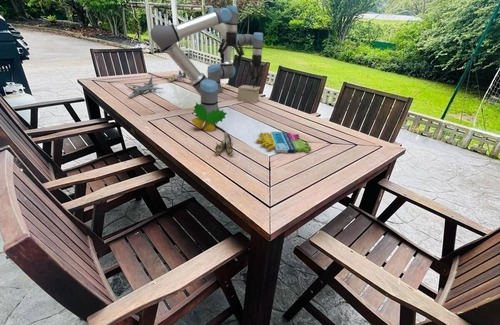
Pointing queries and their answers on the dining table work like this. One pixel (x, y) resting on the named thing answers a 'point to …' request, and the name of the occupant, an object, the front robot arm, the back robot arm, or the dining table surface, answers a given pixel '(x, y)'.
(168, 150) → the dining table surface
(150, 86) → the airplane
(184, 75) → the toy
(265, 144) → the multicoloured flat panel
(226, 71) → the back robot arm
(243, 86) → the lid
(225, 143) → the jawbone
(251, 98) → the chest
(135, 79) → the dining table surface
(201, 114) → the ornament
